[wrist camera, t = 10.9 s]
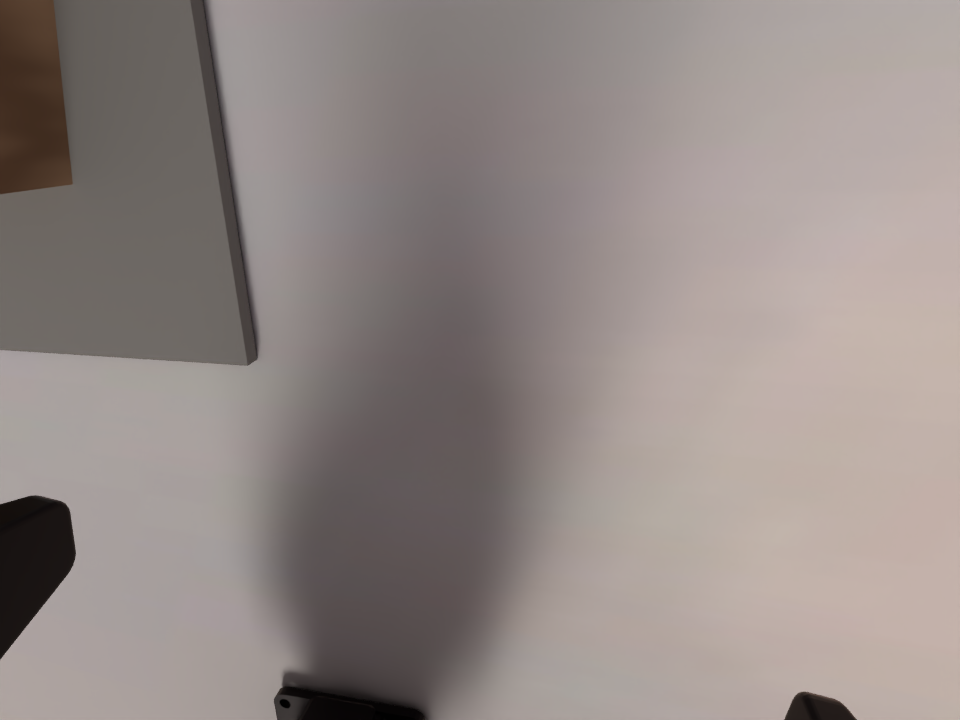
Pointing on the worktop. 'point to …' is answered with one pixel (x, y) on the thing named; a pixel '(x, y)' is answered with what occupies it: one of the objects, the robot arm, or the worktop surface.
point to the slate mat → (130, 200)
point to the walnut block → (31, 99)
